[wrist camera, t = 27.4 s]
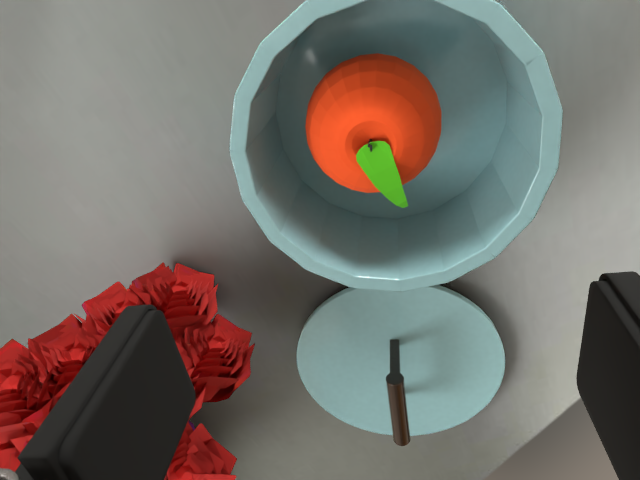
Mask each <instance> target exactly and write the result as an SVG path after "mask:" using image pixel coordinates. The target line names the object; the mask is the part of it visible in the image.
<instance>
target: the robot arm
mask: <svg viewBox="0 0 640 480" xmlns="http://www.w3.org/2000/svg"><path fill="white" fill-rule="evenodd" d="M577 386H578V390H579V393H580V396H581V398H582V400H583V402H584V405H585V407H586V409H587V411H588V413H589V415H590V418H591V420H592V422H593V424H594V426H595V428H596V431H597V432H598V435H599V437H600V439H601V441H602V444H603V446H604V448H605V450H606V452H607V454H608V457H609V459H610V461H611V463H612V465H613V467H614V470H615V472H616V474H617V476H618V478H619V480H640V276H639V275H638V274H637V273H636V272H619V273H605V274H602V275H601V276H600V278H599V281H593V282H592V283H591V284H590V288H589V295H588V302H587V308H586V315H585V322H584V329H583V336H582V343H581V350H580V357H579V364H578V370H577ZM195 399H196V394H195V389H194V386H193V384H192V382H191V379H190V377H189V374H188V372H187V369H186V367H185V364H184V362H183V360H182V357H181V355H180V352H179V350H178V347H177V345H176V343H175V340H174V338H173V335H172V333H171V330H170V328H169V325H168V323H167V321H166V318H165V316H164V314H163V312H162V311H161V310H157V309H156V307H155V306H154V305H150V304H149V305H135V306H128V307H126V308H125V309H124V310H123V311H122V313H121V314H120V315H119V317H118V318H117V320H116V321H115V322H114V324H113V325H112V327H111V328H110V329H109V331H108V332H107V334H106V335H105V336H104V338H103V339H102V341H101V342H100V343H99V345H98V346H97V347H96V349H95V350H94V352H93V353H92V354H91V356H90V357H89V359H88V360H87V361H86V363H85V364H84V366H83V367H82V368H81V370H80V371H79V373H78V374H77V375H76V377H75V378H74V379H73V381H72V382H71V384H70V385H69V386H68V388H67V389H66V391H65V392H64V393H63V395H62V396H61V398H60V399H59V400H58V402H57V403H56V405H55V406H54V407H53V409H52V410H51V411H50V413H49V414H48V416H47V417H46V418H45V420H44V421H43V423H42V424H41V425H40V427H39V428H38V430H37V431H36V432H35V434H34V435H33V437H32V438H31V439H30V441H29V442H28V444H27V445H26V446H25V448H24V449H23V450H22V452H21V453H20V455H19V456H18V457H17V458H18V459H19V461H20V462H21V464H20V465H19V467H18V468H17V470H16V471H15V472H14V471H12V470H10V469H4V468H0V480H164V478H165V476H166V473H167V471H168V468H169V466H170V464H171V461H172V459H173V456H174V454H175V451H176V449H177V446H178V444H179V442H180V439H181V437H182V434H183V432H184V429H185V427H186V424H187V422H188V420H189V417H190V415H191V412H192V410H193V407H194V404H195Z"/></svg>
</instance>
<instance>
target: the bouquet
mask: <svg viewBox="0 0 640 480" xmlns="http://www.w3.org/2000/svg"><path fill="white" fill-rule="evenodd" d="M213 287H214V275H212V274H207V273H202V272H198V271H196V270H193V269H191V268H189V267H186V266H184V265H182V264H179V263H176V266H175V269H174V272H173V273H172V270H171V269H169V266H167V267H165V264H164V263H162V264H161V265H159V266H158V267H157V268H156V269H155V270H154V271H152V272H150V273H147V274H145V275H143V276H140V277H138V278H136V279H135V280H134V281H132V285H130V287H129V289H127V290H126V288H125V287H124V286H123V285H122V284H121V283H120V282H116V283H115V284H113V285H112V286H111V287H109V288H108V289H106V290H105V291H104V292H102V293H101V294H99V295H98V296H97V297H94V298H92V299H90V300H88V301H86V302H84V303H83V304H82V307H83V309H84V310H85V312H86V314H87V316H86V321H85V320H84V319H82V318H80V317H79V316H77V315H76V316H77V317H78V318H79V319H80V320H81V321H82V323H81V322H80V321H79V320H78V319H77V318H76V317H75V316H74V315H72V314H71V315H70V316H68V317H67V318H66V319H65V320H64V321H63V322H61V323H60V324H59V325H57V326H55V327H54V328H52V329H50V330H48V331H46V332H44V333H43V334H41V335H39V336H37V337H35V338H34V339H30V338H28V343H27V344H28V348H29V349H27V348H26V347H24V346H23V345H21V344H20V343H18V342H17V341H15V340H14V339H11V340H10V341H9V342H8V343H6V344H5V345H4V346H3V347H2V348H1V349H0V468H4V469H10V470H12V471H14V472H15V471H16V470H17V468H18V467H19V465H20V464H21V462H20V461H19V459H18V458H17V457H18V456H19V455H20V453H21V452H22V450H23V449H24V448H25V446H26V445H27V444H28V442H29V441H30V439H31V438H32V437H33V435H34V434H35V432H36V431H37V430H38V428H39V427H40V425H41V424H42V423H43V421H44V420H45V418H46V417H47V416H48V414H49V413H50V411H51V410H52V409H53V407H54V406H55V405H56V403H57V402H58V400H59V399H60V398H61V396H62V395H63V393H64V392H65V391H66V389H67V388H68V386H69V385H70V384H71V382H72V381H73V379H74V378H75V377H76V375H77V374H78V373H79V371H80V370H81V368H82V367H83V366H84V364H85V363H86V361H87V360H88V359H89V357H90V356H91V354H92V353H93V352H94V350H95V349H96V347H97V346H98V345H99V343H100V342H101V341H102V339H103V338H104V336H105V335H106V334H107V332H108V331H109V329H110V328H111V327H112V325H113V324H114V322H115V321H116V320H117V318H118V317H119V315H120V314H121V313H122V311H123V310H124V309H125V308H126V307H128V306H135V305H149V304H150V305H154V306H155V307H156V309H157V310H161V311H162V312H163V314H164V316H165V318H166V321H167V323H168V325H169V328H170V330H171V333H172V335H173V338H174V340H175V343H176V345H177V347H178V350H179V352H180V355H181V357H182V360H183V362H184V364H185V367H186V369H187V372H188V374H189V377H190V379H191V382H192V384H193V386H194V389H195V394H196V399H195V404H194V407H193V410H192V412H191V415H190V417H189V420H190V418H191V417H192V416H193V415H194V414H195V413H196V412H197V411H198V410H199V409H201V407H202V402H218V401H222V400H225V399H228V398H229V397H230V396H231V394H232V393H233V392H234V391H235V390H236V389H237V388H238V387H239V386H240V385H241V384H242V383H243V382H244V381H245V380H246V379H247V378H248V377H249V376H250V373H251V371H250V358H251V354H252V351H253V348H254V345H255V344H253V345H252V346H250V347H249V348H248V346H249V342H250V338H251V334H252V333H250V332H248V331H246V330H243V329H241V328H238V327H237V326H235V325H234V324H232V323H231V322H230V321H228V320H227V319H225V318H224V317H222V316H221V315H219V314H216V313H217V301H216V291H217V287H218V284H217V285H216V286H215V287H214V288H213ZM215 314H216V316H215V318H214V320H213V321H212V323H211V319H212V318H213V317H214V315H215ZM189 420H188V422H187V424H186V427H185V429H184V432H183V434H182V437H181V439H180V442H179V444H178V446H177V449H176V451H175V454H174V456H173V459H172V461H171V464H170V466H169V468H168V471H167V473H166V476H165V478H164V480H235V478H236V476H235V475H230V474H231V471H232V469H233V467H234V464H235V462H236V460H237V458H236V457H235V456H233V455H232V454H231V453H230V452H229V451H227V450H226V449H225V448H224V447H223V446H221V445H220V444H219V443H218V442H217V441H215V440H214V439H213V438H212V437H211V435H210V434H209V432H208V431H207V429H206V428H205V427H204V425H203V424H201V423H200V424H199V425H198V426H197V427H196V429H195V427H194V425H193V423H191V422H190V421H189Z"/></svg>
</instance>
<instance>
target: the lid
mask: <svg viewBox="0 0 640 480" xmlns="http://www.w3.org/2000/svg"><path fill="white" fill-rule="evenodd" d="M296 360H297V367H298V371H299V374H300V377H301V380H302V382H303V384H304V386H305V388H306V389H307V391H308V392H309V394H310V395H311V396H312V398H313V399H314V400H315V401H316V402H317V403H318V404H319V405H320V406H321V407H322V408H324V409H325V410H326V411H327V412H329V413H330V414H332V415H333V416H335V417H336V418H338V419H340V420H342V421H343V422H345V423H347V424H350V425H352V426H355V427H357V428H360V429H363V430H366V431H370V432H374V433H379V434H386V435H393V440H394V442H395V443H396V444H397V445H399V446H405V445H407V444H408V443H409V442H410V436H415V435H424V434H431V433H435V432H439V431H443V430H446V429H449V428H452V427H454V426H457V425H459V424H461V423H463V422H465V421H467V420H468V419H470V418H472V417H473V416H475V415H476V414H477V413H479V412H480V411H481V410H482V409H483V408H484V407H485V406H486V405H487V404H488V403H489V402H490V401H491V400H492V398H493V397H494V396H495V394H496V393H497V391H498V389H499V387H500V385H501V382H502V379H503V376H504V371H505V352H504V348H503V344H502V340H501V338H500V335H499V333H498V331H497V329H496V327H495V326H494V324H493V323H492V321H491V320H490V318H489V317H488V316H487V315H486V314H485V313H484V312H483V311H482V309H480V308H479V307H478V306H477V305H475V304H474V303H473V302H472V301H470V300H469V299H467V298H466V297H464V296H462V295H461V294H459V293H457V292H455V291H453V290H451V289H448V288H446V287H443V286H440V285H434V286H429V287H424V288H419V289H414V290H409V291H404V292H401V291H400V292H395V291H383V290H371V289H359V288H353V287H352V288H351V287H349V288H346V289H344V290H342V291H340V292H338V293H336V294H334V295H333V296H331V297H330V298H329V299H327V300H326V301H324V302H323V303H322V304H321V305H320V306H319V307H318V308H316V309H315V311H314V312H313V313H312V314H311V315H310V317H309V318H308V319H307V321H306V323H305V325H304V326H303V328H302V331H301V334H300V336H299V340H298V346H297V356H296Z"/></svg>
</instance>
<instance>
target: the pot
mask: <svg viewBox="0 0 640 480" xmlns="http://www.w3.org/2000/svg"><path fill="white" fill-rule="evenodd" d="M376 53H379V54H385V55H390V56H396V57H398V58H400V59H402V60H404V61H406V62H408V63H410V64H412V65H414V66H415V67H416V68H417V69H418V70H419V71H420V72H421V73H422V74H423V75H425V76H426V77H427V78H428V80H429V82H430V83H431V85H432V87H433V88H434V90H435V92H436V93H437V96H438V100H439V104H440V107H441V111H442V117H441V135H440V138H439V142H438V145H437V149H436V152H435V153H434V155H433V157H432V158H431V160H430V162H429V163H428V165H427V166H426V167H425V168H424V169H423V170H422V171H421V172H420V173H419V174H418V175H417V176H416V177H415V178H414V179H412V180H411V181H409V182H407V183H405V184H404V185H402V187H403V190H404V193H405V196H406V199H407V203H408V206H407V207H404V208H401V207H399V206H396V205H395V204H393V203H392V202H391V201H390V200H388V199H387V198H386V197H385V196H384V195H383V194H382V193H381V192H374V193H365V192H360V191H355V190H351V189H349V188H347V187H345V186H342V185H340V184H338V183H336V182H335V181H334V180H333V179H331V178H330V177H329V176H328V175H326V174H325V173H324V172H323V171H322V169H321V168H320V167H319V165H318V164H317V163H316V161H315V160H314V159H313V156H312V154H311V151H310V149H309V146H308V144H307V136H306V128H305V124H306V115H307V108H308V103H309V101H310V99H311V96H312V94H313V91H314V89H315V87H316V86H317V85H318V83H319V82H320V81H321V80H322V78H323V77H324V76H325V75H326V73H328V72H329V71H330V70H332V69H333V68H334V67H336V66H337V65H338V64H340V63H341V62H344V61H346V60H349V59H351V58H354V57H356V56H359V55H366V54H376ZM562 118H563V109H562V106H561V103H560V99H559V96H558V93H557V90H556V87H555V84H554V81H553V78H552V75H551V72H550V69H549V66H548V63H547V59H546V56H545V53H544V52H543V50H542V49H541V48H540V47H539V46H538V45H537V44H536V43H535V41H534V40H533V39H532V38H531V37H530V36H529V35H528V34H527V33H526V31H525V30H524V29H523V28H522V27H521V26H520V25H519V24H518V23H517V21H516V20H515V19H514V18H513V17H512V16H511V15H510V14H509V13H508V11H507V10H506V9H505V8H504V7H503V6H502V5H500V4H499V3H498V2H496V1H493V0H306V1H305V2H304V3H303V4H301V5H300V6H299V7H298V8H297V9H296V10H295V11H294V12H293V13H292V14H291V15H290V16H288V17H287V18H286V19H285V20H284V21H283V22H282V23H281V24H280V25H279V26H278V27H277V28H276V29H274V30H273V31H272V32H271V33H270V34H269V35H268V36H267V37H266V38H265V39H264V40H263V41H261V43H260V44H259V46H258V48H257V50H256V52H255V54H254V56H253V58H252V60H251V62H250V65H249V67H248V69H247V71H246V73H245V75H244V77H243V79H242V81H241V83H240V85H239V87H238V89H237V91H236V93H235V97H234V103H233V114H232V124H231V135H230V146H229V150H230V155H231V159H232V163H233V167H234V171H235V175H236V178H237V182H238V186H239V190H240V194H241V197H242V200H243V202H244V204H245V205H246V207H247V208H248V210H249V211H250V213H251V214H252V216H253V217H254V219H255V220H256V222H257V223H258V225H259V226H260V228H261V229H262V231H263V232H264V234H265V235H266V237H267V238H268V240H270V242H271V243H272V244H274V245H275V246H276V247H277V248H279V249H280V250H281V251H283V252H284V253H285V254H286V255H288V256H289V257H290V258H291V259H293V260H294V261H295V262H297V263H298V264H299V265H300V266H302V267H303V268H304V269H305V270H308V271H309V272H312V273H314V274H317V275H320V276H322V277H325V278H327V279H330V280H333V281H335V282H338V283H340V284H343V285H346V286H348V287H351V288H352V287H353V288H359V289H371V290H383V291H395V292H400V291H401V292H404V291H409V290H414V289H419V288H424V287H429V286H434V285H439V284H444V283H449V282H451V281H453V280H455V279H457V278H459V277H460V276H462V275H464V274H466V273H468V272H470V271H472V270H474V269H476V268H477V267H479V266H481V265H483V264H485V263H487V262H489V261H491V260H493V259H494V258H495V257H497V256H498V255H499V254H500V253H501V252H502V251H503V250H504V249H505V248H506V247H507V246H508V245H509V244H510V243H511V242H512V241H513V240H514V239H515V238H516V237H517V236H518V235H519V234H520V233H521V232H522V231H523V230H524V229H525V228H526V227H527V225H528V224H529V223H530V222H531V221H532V220H533V219H534V218H535V216H536V214H537V212H538V209H539V207H540V205H541V203H542V201H543V199H544V197H545V195H546V193H547V191H548V189H549V187H550V184H551V182H552V180H553V178H554V176H555V174H556V172H557V169H558V165H559V153H560V141H561V130H562Z"/></svg>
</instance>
